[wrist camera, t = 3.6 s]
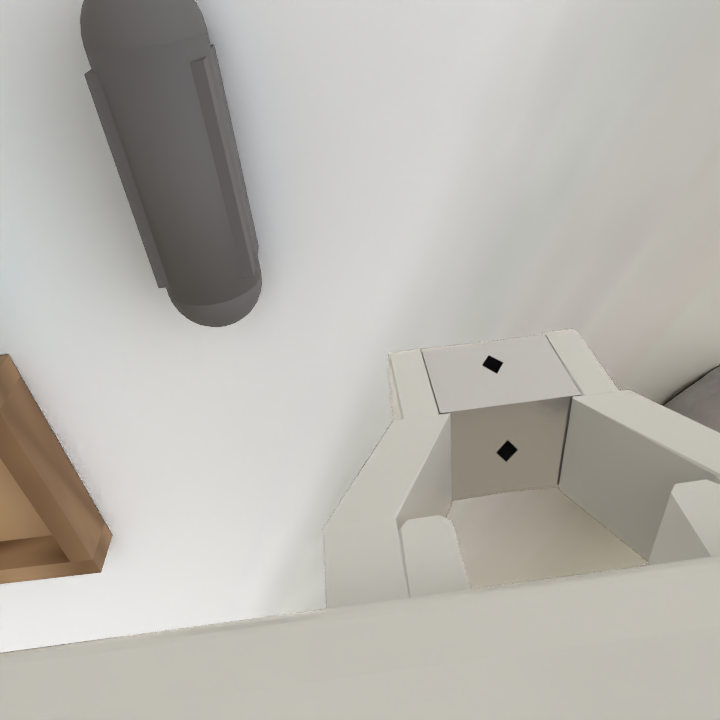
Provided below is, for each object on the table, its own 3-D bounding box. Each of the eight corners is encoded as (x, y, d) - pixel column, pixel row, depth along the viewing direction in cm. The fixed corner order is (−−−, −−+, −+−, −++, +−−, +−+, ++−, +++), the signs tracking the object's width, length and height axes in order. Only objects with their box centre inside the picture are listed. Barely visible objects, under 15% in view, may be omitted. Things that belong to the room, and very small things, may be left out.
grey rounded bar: (82, -33, 15) (40, -21, 13) (199, -47, 15) (178, -37, 13) (188, 300, 21) (172, 350, 19) (272, 290, 21) (267, 339, 19)
